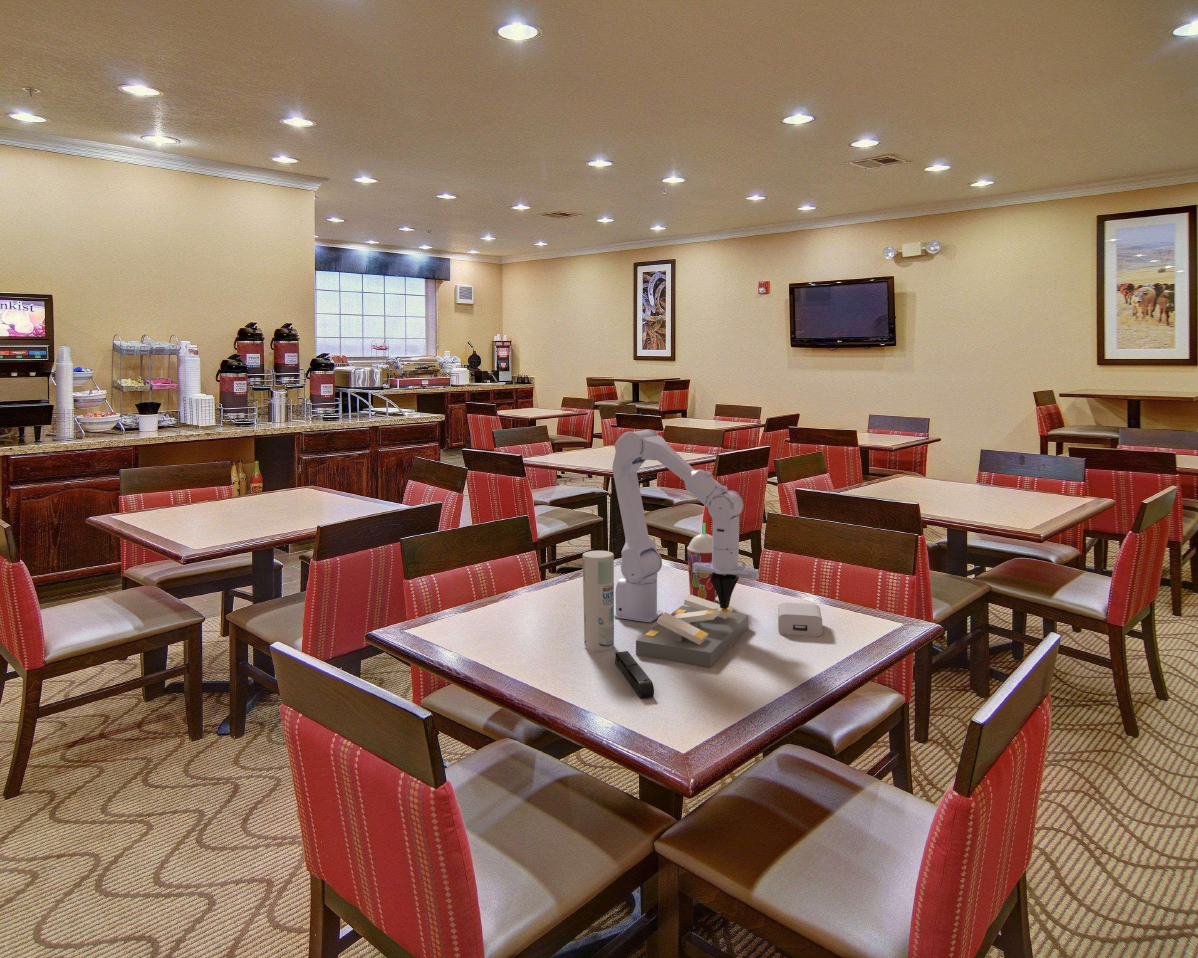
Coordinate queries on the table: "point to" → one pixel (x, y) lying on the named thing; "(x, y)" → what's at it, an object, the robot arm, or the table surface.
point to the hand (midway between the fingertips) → (724, 607)
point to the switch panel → (683, 650)
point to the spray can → (598, 600)
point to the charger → (799, 619)
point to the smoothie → (701, 554)
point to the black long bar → (634, 674)
